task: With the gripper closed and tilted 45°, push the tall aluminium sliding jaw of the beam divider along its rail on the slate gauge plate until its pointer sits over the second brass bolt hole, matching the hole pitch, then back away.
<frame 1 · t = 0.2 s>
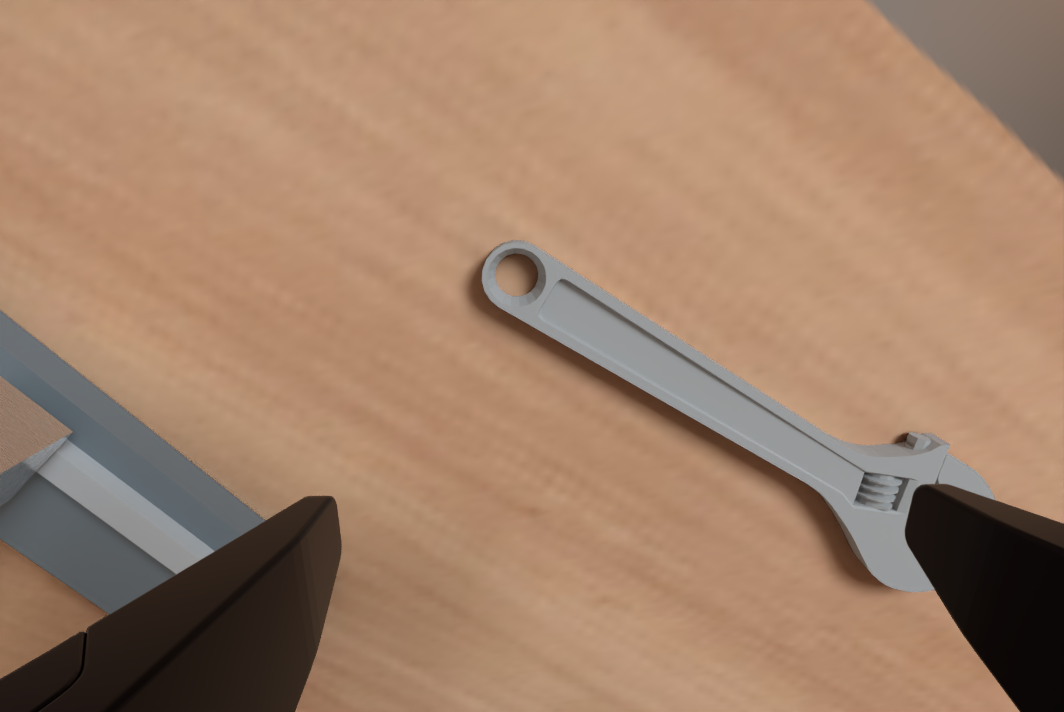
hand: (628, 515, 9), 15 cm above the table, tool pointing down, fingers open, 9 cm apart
adjustable wrench: (754, 397, 25), on the table
gauge plate: (99, 482, 25), on the table
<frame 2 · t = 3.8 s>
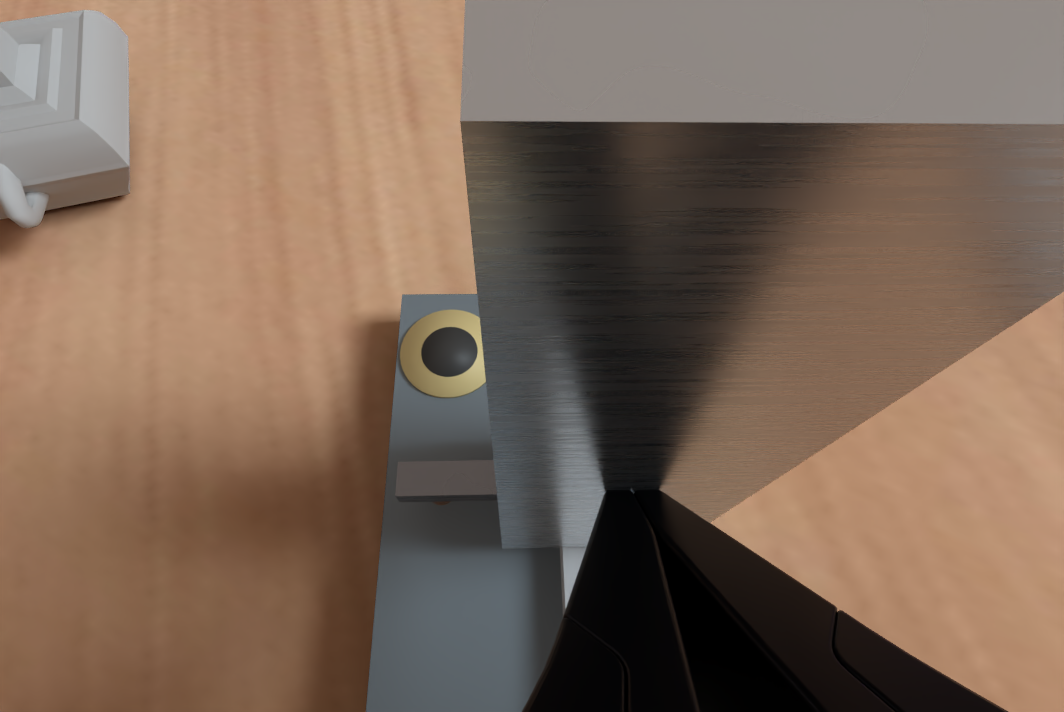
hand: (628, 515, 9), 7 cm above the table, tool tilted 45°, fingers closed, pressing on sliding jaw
sliding jaw: (548, 386, 9), point 8 cm above the table, slide at 0.9 cm, touching gripper
gauge plate: (524, 665, 15), on the table
stamp: (76, 173, 22), on the table
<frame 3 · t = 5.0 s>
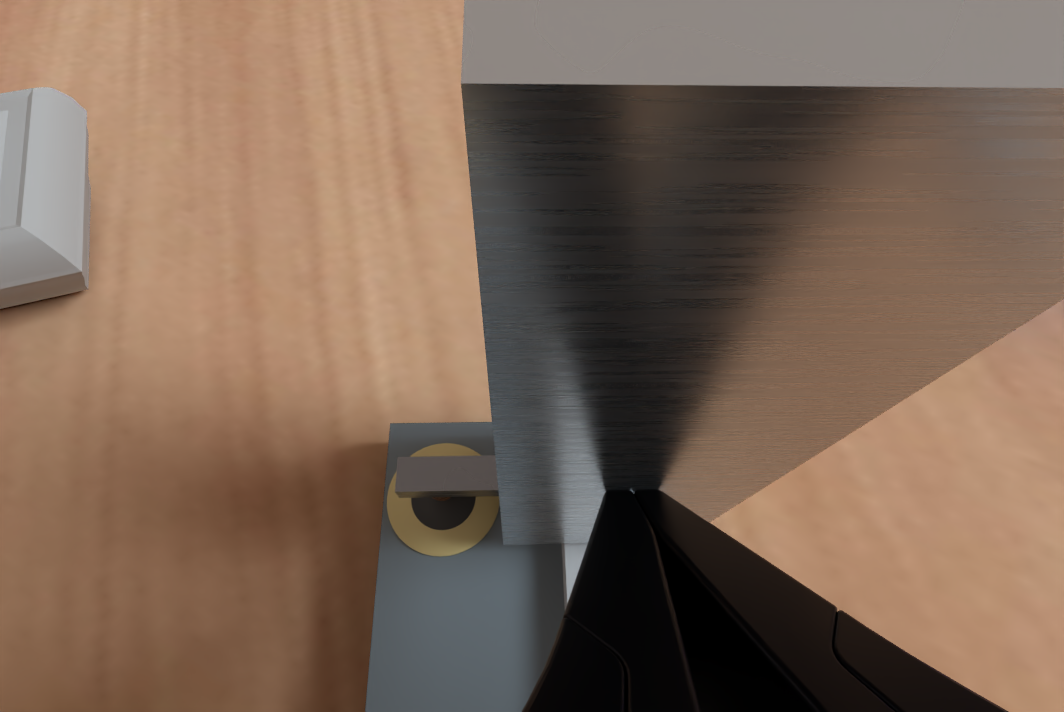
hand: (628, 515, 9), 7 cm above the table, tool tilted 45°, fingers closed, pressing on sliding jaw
sliding jaw: (551, 379, 9), point 8 cm above the table, slide at 5.2 cm, touching gripper
stamp: (31, 261, 19), on the table
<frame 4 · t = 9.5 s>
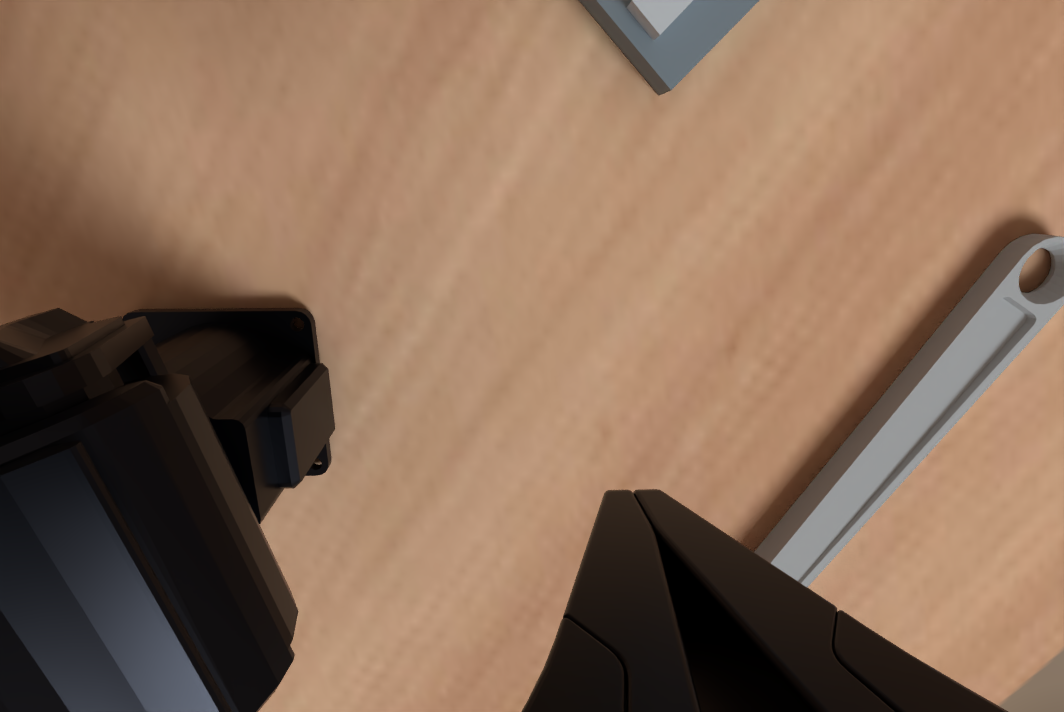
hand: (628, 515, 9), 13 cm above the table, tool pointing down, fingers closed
adjustable wrench: (828, 502, 25), on the table
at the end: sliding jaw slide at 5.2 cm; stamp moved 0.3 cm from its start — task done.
